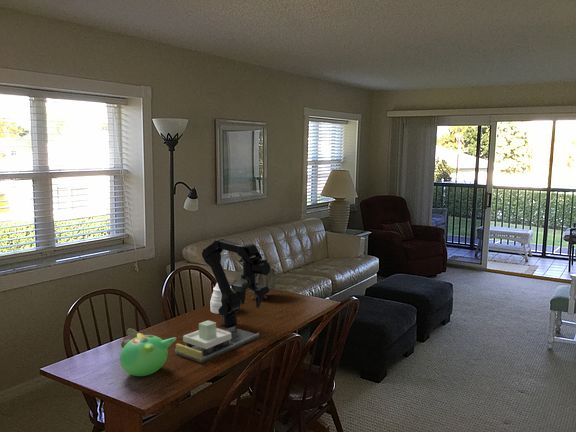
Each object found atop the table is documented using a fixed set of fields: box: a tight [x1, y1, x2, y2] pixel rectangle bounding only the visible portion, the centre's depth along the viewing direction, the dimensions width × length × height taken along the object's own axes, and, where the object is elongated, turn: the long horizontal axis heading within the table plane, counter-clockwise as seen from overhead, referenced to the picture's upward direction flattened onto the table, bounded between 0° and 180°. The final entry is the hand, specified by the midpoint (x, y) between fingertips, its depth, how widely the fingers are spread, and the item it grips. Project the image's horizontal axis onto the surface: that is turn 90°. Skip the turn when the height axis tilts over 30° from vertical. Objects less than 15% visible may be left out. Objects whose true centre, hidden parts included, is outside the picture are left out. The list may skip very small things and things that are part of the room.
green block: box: [198, 319, 217, 340], centre depth 204 cm, size 5×5×6 cm
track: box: [174, 326, 261, 364], centre depth 210 cm, size 16×34×4 cm, turn 141°
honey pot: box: [209, 283, 233, 315], centre depth 257 cm, size 13×13×18 cm
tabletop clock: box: [248, 253, 276, 300], centre depth 276 cm, size 14×9×25 cm, turn 145°
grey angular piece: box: [120, 328, 139, 349], centre depth 207 cm, size 9×6×10 cm
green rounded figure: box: [119, 332, 177, 377], centre depth 183 cm, size 18×17×15 cm
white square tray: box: [182, 327, 232, 354], centre depth 205 cm, size 14×15×5 cm
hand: (250, 305), depth 224 cm, fingers open, 9 cm apart
